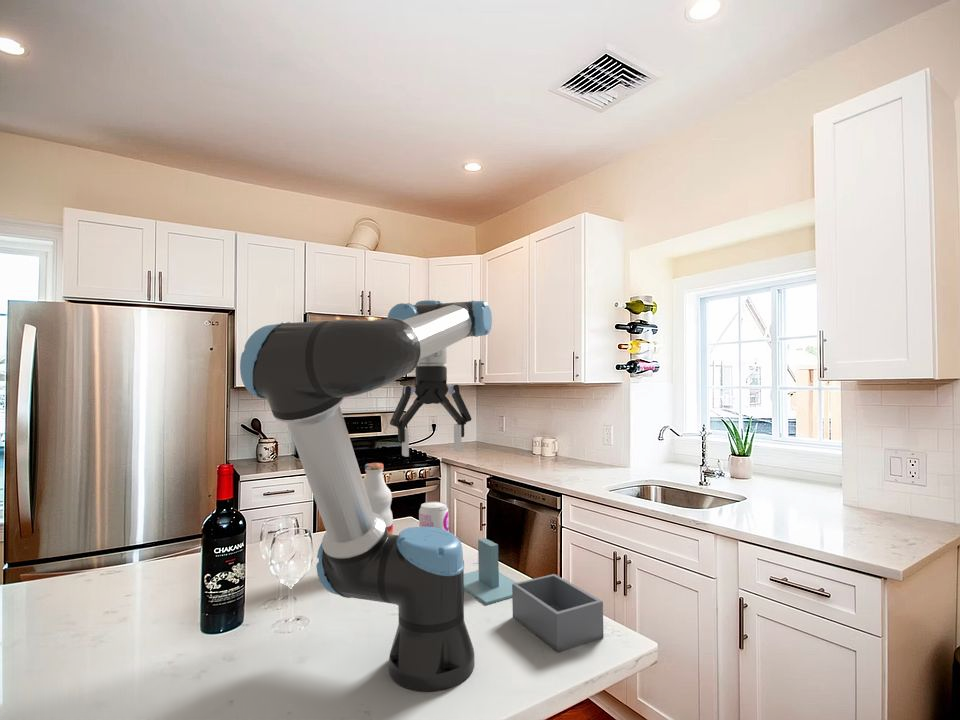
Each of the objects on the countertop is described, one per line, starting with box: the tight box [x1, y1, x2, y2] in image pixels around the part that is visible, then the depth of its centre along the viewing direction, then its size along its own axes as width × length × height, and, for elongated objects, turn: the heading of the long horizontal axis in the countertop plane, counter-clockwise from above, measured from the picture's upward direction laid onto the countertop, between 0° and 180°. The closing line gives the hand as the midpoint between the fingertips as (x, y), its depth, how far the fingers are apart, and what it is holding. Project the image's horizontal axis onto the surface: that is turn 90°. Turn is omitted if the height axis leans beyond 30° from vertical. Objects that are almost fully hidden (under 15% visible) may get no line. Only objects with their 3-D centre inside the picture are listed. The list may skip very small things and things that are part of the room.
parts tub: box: [511, 573, 604, 653], centre depth 106 cm, size 16×11×7 cm
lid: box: [464, 537, 518, 606], centre depth 127 cm, size 17×12×11 cm
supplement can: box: [418, 501, 450, 532], centre depth 147 cm, size 8×8×15 cm
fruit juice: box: [363, 462, 394, 535], centre depth 139 cm, size 9×9×28 cm
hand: (432, 453), depth 126 cm, fingers open, 13 cm apart
